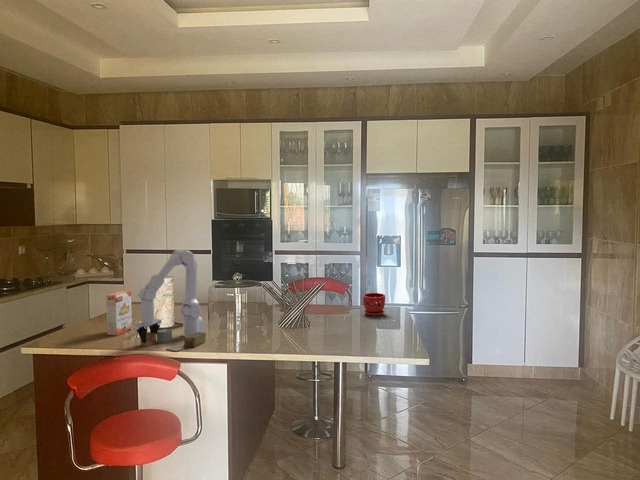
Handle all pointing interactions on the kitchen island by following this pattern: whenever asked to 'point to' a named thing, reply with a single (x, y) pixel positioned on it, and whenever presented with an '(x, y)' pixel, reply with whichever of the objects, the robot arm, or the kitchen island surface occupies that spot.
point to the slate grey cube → (164, 335)
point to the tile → (176, 348)
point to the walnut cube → (150, 339)
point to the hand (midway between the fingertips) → (148, 341)
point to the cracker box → (118, 312)
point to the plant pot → (374, 303)
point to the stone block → (194, 339)
